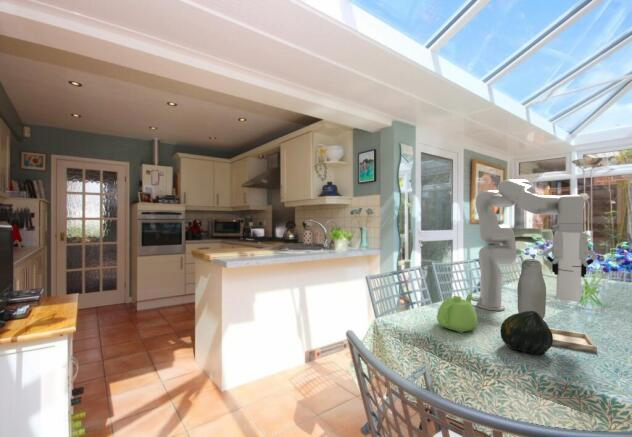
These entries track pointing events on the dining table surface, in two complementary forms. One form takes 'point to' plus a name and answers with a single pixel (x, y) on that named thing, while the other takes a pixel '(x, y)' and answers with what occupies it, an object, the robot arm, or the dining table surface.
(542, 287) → the grey tall rounded bottle
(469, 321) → the teapot
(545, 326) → the squash
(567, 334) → the wooden tray
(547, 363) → the dining table surface
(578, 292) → the cylindrical container
